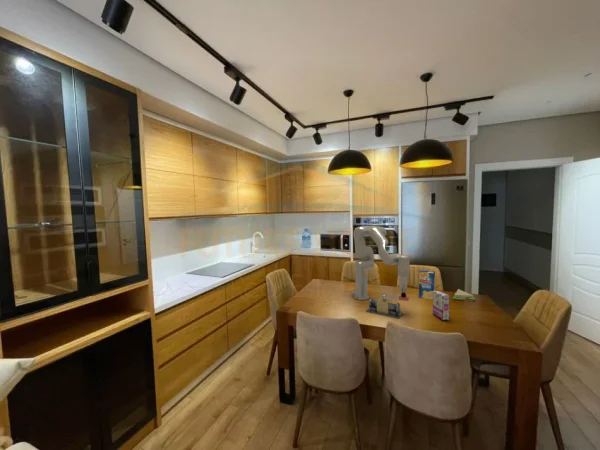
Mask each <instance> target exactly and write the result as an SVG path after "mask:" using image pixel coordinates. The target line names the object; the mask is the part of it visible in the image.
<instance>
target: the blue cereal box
mask: <svg viewBox="0 0 600 450" xmlns="http://www.w3.org/2000/svg"><path fill="white" fill-rule="evenodd" d="M433 291H436V271H434V270H433V271H431V270H424V269H423V270H421V269H420V270H419V271H418V298H419V299H425V300H431V301H433Z"/></svg>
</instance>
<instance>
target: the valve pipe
mask: <svg viewBox="0 0 600 450" xmlns="http://www.w3.org/2000/svg"><path fill="white" fill-rule="evenodd" d="M392 299H393V298H382V297H379V298H378V299H377V300H376V299H374V298H372V297H369V299H368V308H367V309H366V310H365V312H366V313H370V314H375V315H380V316H384V317H389V318H393V319H400V318H401V317H402V316H403V314H404V311H401V303H400V302H396V303H393V302H392Z"/></svg>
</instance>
